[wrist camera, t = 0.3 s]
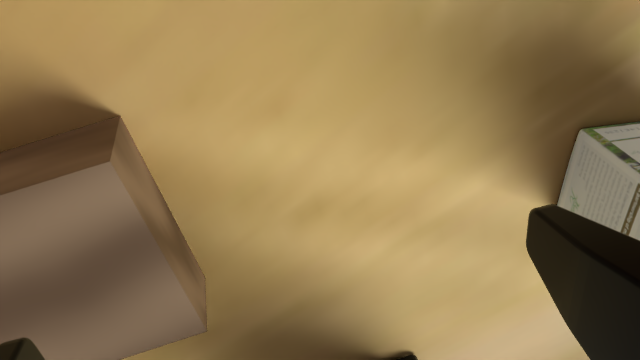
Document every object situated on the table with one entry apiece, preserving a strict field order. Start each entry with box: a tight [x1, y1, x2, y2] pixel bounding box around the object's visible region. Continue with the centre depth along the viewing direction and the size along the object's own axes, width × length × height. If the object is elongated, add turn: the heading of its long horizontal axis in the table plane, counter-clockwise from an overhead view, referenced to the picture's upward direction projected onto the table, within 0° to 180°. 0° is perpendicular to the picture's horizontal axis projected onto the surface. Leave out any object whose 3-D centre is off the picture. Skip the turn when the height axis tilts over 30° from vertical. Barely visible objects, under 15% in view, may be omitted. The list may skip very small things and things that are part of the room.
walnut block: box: [0, 116, 207, 360], centre depth 23 cm, size 10×10×4 cm
